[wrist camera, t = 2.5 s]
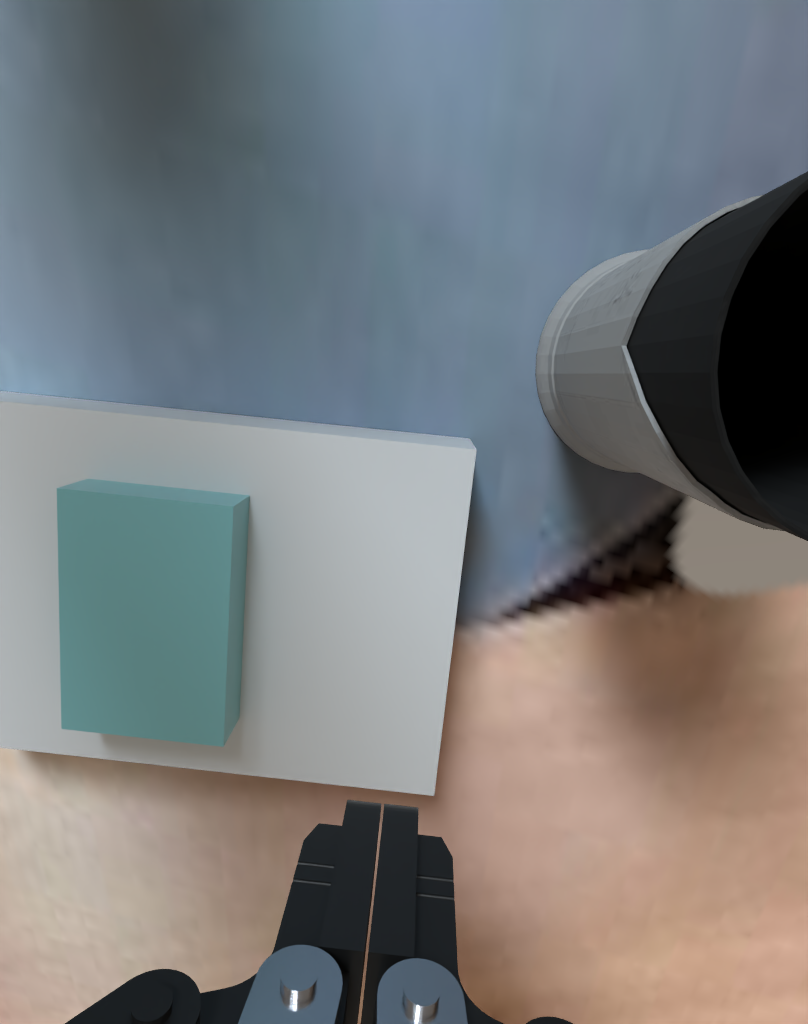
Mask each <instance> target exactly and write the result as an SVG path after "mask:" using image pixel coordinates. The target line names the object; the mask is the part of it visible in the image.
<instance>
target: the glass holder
mask: <svg viewBox="0 0 808 1024" xmlns="http://www.w3.org/2000/svg"><path fill="white" fill-rule="evenodd" d="M536 382H537V390H538V395H539V398H540V402H541V405H542V408H543V411H544V413H545V415H546V417H547V419H548V421H549V423H550V425H551V426H552V428H553V429H554V431H555V432H556V433H557V434H558V436H559V437H560V438H561V439H562V441H563V442H564V443H565V444H566V445H568V446H569V447H570V448H571V449H572V450H573V451H574V452H576V453H577V454H578V455H580V456H582V457H583V458H585V459H587V460H588V461H590V462H592V463H594V464H597V465H599V466H602V467H605V468H607V469H611V470H616V471H622V472H628V473H641V474H644V475H646V476H648V477H650V478H652V479H654V480H656V481H658V482H661V483H663V484H665V485H667V486H669V487H671V488H673V489H675V490H678V491H680V492H682V493H684V494H686V495H688V496H690V497H692V498H695V499H697V500H699V501H701V502H703V503H705V504H707V505H709V506H712V507H714V508H716V509H718V510H720V511H722V512H724V513H726V514H729V515H731V516H733V517H735V518H737V519H739V520H742V521H745V522H748V523H751V524H753V525H756V526H758V527H761V528H765V529H773V530H781V531H786V532H788V533H791V534H793V535H795V536H798V537H800V538H802V539H804V540H807V541H808V172H806V173H804V174H802V175H800V176H798V177H797V178H795V179H793V180H791V181H789V182H787V183H785V184H783V185H782V186H780V187H778V188H776V189H774V190H772V191H770V192H768V193H767V194H765V195H761V196H755V197H751V198H748V199H746V200H743V201H740V202H737V203H735V204H732V205H729V206H727V207H724V208H723V209H721V210H719V211H717V212H716V213H714V214H712V215H710V216H708V217H707V218H705V219H703V220H701V221H700V222H698V223H696V224H694V225H692V226H691V227H689V228H687V229H685V230H684V231H682V232H680V233H678V234H677V235H675V236H673V237H671V238H669V239H668V240H666V241H664V242H662V243H661V244H659V245H657V246H655V247H653V248H652V249H650V250H641V251H636V252H630V253H625V254H622V255H620V256H617V257H614V258H612V259H609V260H606V261H604V262H603V263H601V264H599V265H597V266H596V267H594V268H592V269H591V270H589V271H587V272H586V273H585V274H584V275H583V276H581V277H580V278H579V279H578V280H577V281H575V282H574V283H573V284H572V285H571V286H570V287H569V288H568V290H567V291H566V292H565V293H564V294H563V295H562V297H561V298H560V299H559V300H558V302H557V303H556V305H555V307H554V308H553V310H552V312H551V313H550V315H549V317H548V319H547V321H546V324H545V326H544V329H543V331H542V334H541V336H540V341H539V346H538V350H537V355H536Z"/></svg>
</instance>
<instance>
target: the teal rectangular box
mask: <svg viewBox="0 0 808 1024" xmlns="http://www.w3.org/2000/svg"><path fill="white" fill-rule="evenodd" d="M249 502H250V495H241V494H231V493H222V492H212V491H202V490H193V489H183V488H173V487H164V486H154V485H144V484H135V483H125V482H116V481H106V480H96V479H85V480H82V481H78V482H75V483H72V484H69V485H65V486H62V487H59V488H57V531H58V581H59V632H60V683H61V729H66V730H75V731H84V732H93V733H102V734H111V735H121V736H130V737H139V738H148V739H157V740H166V741H175V742H184V743H193V744H202V745H211V746H220V747H224V745H225V743H226V742H227V740H228V738H229V736H230V734H231V732H232V731H233V729H234V727H235V725H236V723H237V722H238V720H239V717H240V696H241V674H242V653H243V631H244V610H245V588H246V567H247V545H248V524H249Z"/></svg>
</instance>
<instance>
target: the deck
mask: <svg viewBox="0 0 808 1024" xmlns="http://www.w3.org/2000/svg"><path fill="white" fill-rule="evenodd" d="M475 458H476V448H475V446H474V445H473V443H472V442H471V440H470V439H469V438H460V437H450V436H440V435H430V434H420V433H410V432H400V431H391V430H381V429H371V428H361V427H351V426H341V425H332V424H322V423H312V422H302V421H292V420H282V419H272V418H263V417H253V416H243V415H233V414H223V413H213V412H204V411H194V410H184V409H174V408H164V407H154V406H145V405H135V404H125V403H115V402H105V401H95V400H85V399H76V398H66V397H56V396H46V395H36V394H26V393H17V392H7V391H0V748H8V749H17V750H26V751H35V752H44V753H53V754H62V755H71V756H80V757H89V758H98V759H107V760H116V761H125V762H134V763H143V764H152V765H161V766H170V767H179V768H188V769H197V770H206V771H215V772H224V773H233V774H242V775H251V776H260V777H269V778H278V779H287V780H296V781H304V782H313V783H322V784H331V785H340V786H349V787H358V788H367V789H376V790H385V791H394V792H403V793H412V794H421V795H430V796H434V793H435V785H436V777H437V769H438V760H439V752H440V744H441V736H442V728H443V719H444V711H445V703H446V695H447V687H448V679H449V670H450V662H451V654H452V646H453V638H454V630H455V621H456V613H457V605H458V597H459V589H460V580H461V572H462V564H463V556H464V548H465V540H466V531H467V523H468V515H469V507H470V499H471V491H472V482H473V474H474V466H475ZM85 479H96V480H106V481H116V482H125V483H135V484H144V485H154V486H164V487H173V488H183V489H193V490H202V491H212V492H222V493H231V494H241V495H250V502H249V524H248V545H247V567H246V588H245V610H244V631H243V653H242V674H241V696H240V717H239V720H238V722H237V723H236V725H235V727H234V729H233V731H232V732H231V734H230V736H229V738H228V740H227V742H226V743H225V745H224V747H220V746H211V745H202V744H193V743H184V742H175V741H166V740H157V739H148V738H139V737H130V736H121V735H111V734H102V733H93V732H84V731H75V730H66V729H61V683H60V632H59V581H58V531H57V488H59V487H62V486H65V485H69V484H72V483H75V482H78V481H82V480H85Z"/></svg>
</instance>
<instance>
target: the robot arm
mask: <svg viewBox="0 0 808 1024" xmlns="http://www.w3.org/2000/svg"><path fill="white" fill-rule="evenodd" d="M380 813H381V804H380V803H371V802H362V801H354V800H348V801H347V805H346V810H345V815H344V820H343V825H342V826H337V825H328V824H318V825H317V826H316V827H315V828H314V829H313V831H312V832H311V833H310V834H309V835H308V836H307V837H306V838H305V840H304V842H303V845H302V849H301V853H300V856H299V860H298V865H297V867H296V871H295V874H294V878H293V883H292V885H291V889H290V893H289V896H288V900H287V904H286V907H285V911H284V915H283V918H282V922H281V925H280V929H279V933H278V936H277V940H276V944H275V947H274V950H273V953H272V955H271V956H269V957H268V958H267V959H266V960H265V961H264V963H263V964H262V965H261V967H260V968H259V970H258V972H257V974H255V975H254V976H253V977H251V978H250V979H248V980H246V981H244V982H243V983H240V984H238V985H235V986H232V987H229V988H225V989H220V990H215V991H210V992H205V993H200V992H199V989H198V987H197V985H196V984H195V982H194V981H193V980H192V979H191V978H190V977H189V976H187V975H186V974H184V973H182V972H179V971H177V970H171V969H158V970H152V971H149V972H145V973H143V974H140V975H138V976H136V977H134V978H133V979H131V980H129V981H128V982H126V983H125V984H123V985H122V986H120V987H119V988H117V989H116V990H114V991H113V992H111V993H110V994H108V995H107V996H105V997H104V998H102V999H101V1000H99V1001H98V1002H96V1003H95V1004H93V1005H92V1006H90V1007H89V1008H87V1009H86V1010H84V1011H83V1012H81V1013H80V1014H78V1015H77V1016H75V1017H74V1018H73V1019H71V1020H70V1021H68V1022H67V1023H65V1024H357V1022H358V1013H359V1004H360V996H361V987H362V978H363V969H364V960H365V952H366V943H367V934H368V925H369V916H370V907H371V899H372V890H373V880H374V871H375V861H376V852H377V842H378V832H379V823H380ZM361 1024H503V1023H501V1022H499V1021H497V1020H495V1019H493V1018H491V1017H489V1016H488V1015H486V1014H485V1013H484V1012H482V1011H481V1010H480V1009H479V1008H478V1007H477V1006H475V1005H474V1003H473V1002H472V1001H471V1000H470V999H469V997H468V996H467V994H466V993H465V991H464V989H463V987H462V985H461V982H460V979H459V975H458V967H457V945H456V923H455V902H454V883H453V858H452V855H451V854H450V852H449V850H448V848H447V846H446V845H445V843H444V841H443V839H442V837H434V836H425V835H418V808H416V807H408V806H399V805H390V804H384V813H383V822H382V831H381V841H380V850H379V859H378V868H377V878H376V887H375V896H374V905H373V915H372V924H371V933H370V942H369V952H368V961H367V971H366V980H365V990H364V1000H363V1009H362V1019H361ZM526 1024H573V1023H571V1022H568V1021H566V1020H563V1019H560V1018H556V1017H539V1018H536V1019H533V1020H531V1021H529V1022H528V1023H526Z"/></svg>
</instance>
